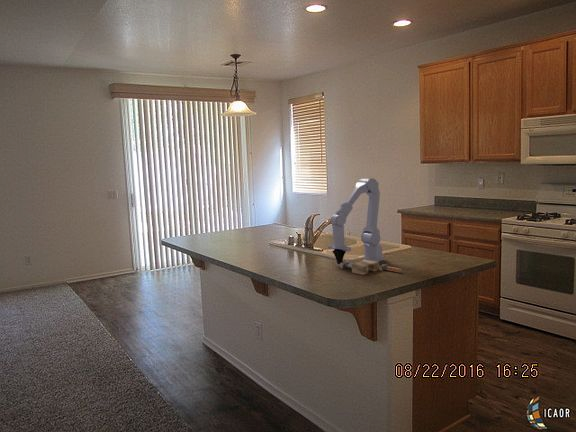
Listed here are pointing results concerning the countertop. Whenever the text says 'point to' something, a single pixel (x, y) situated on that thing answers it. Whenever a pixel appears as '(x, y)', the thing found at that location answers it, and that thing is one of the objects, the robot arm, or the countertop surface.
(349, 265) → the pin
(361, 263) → the block
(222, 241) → the countertop surface
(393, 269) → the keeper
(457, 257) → the countertop surface
